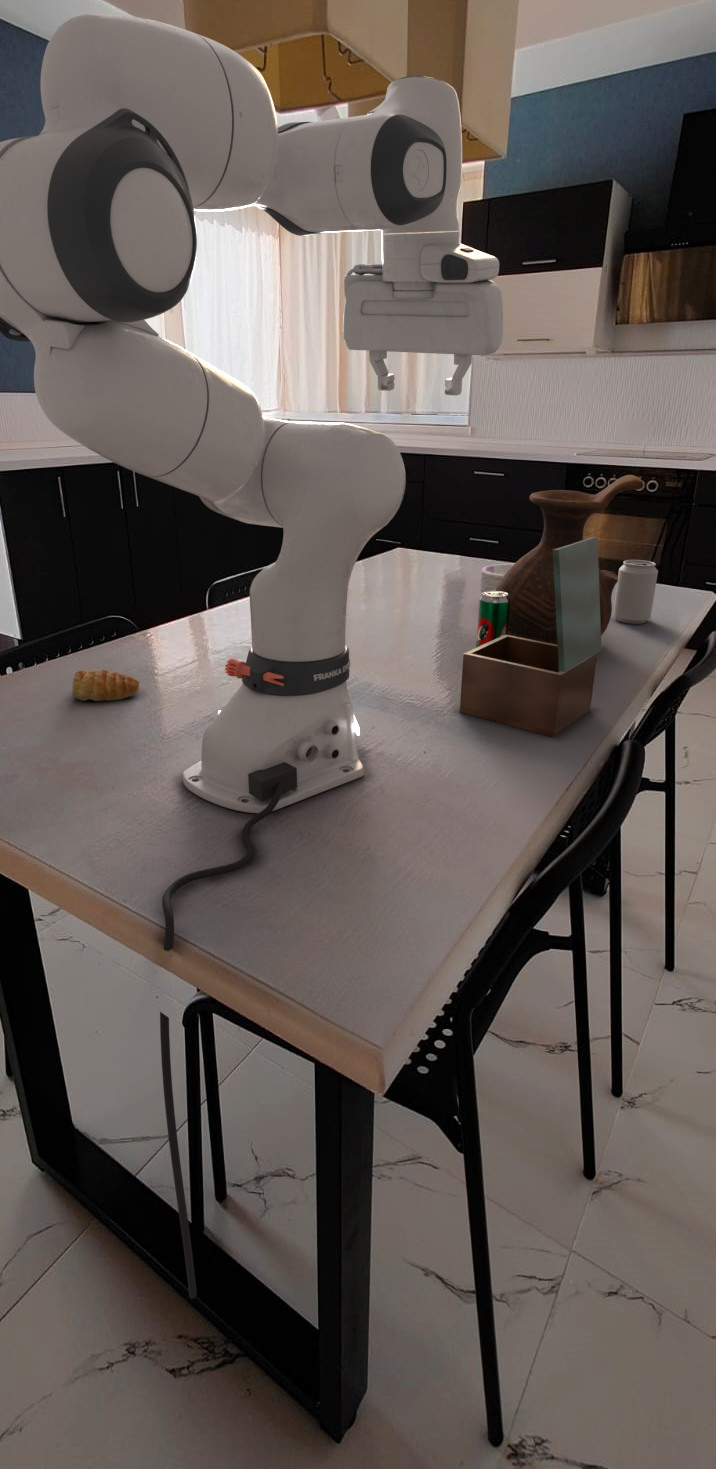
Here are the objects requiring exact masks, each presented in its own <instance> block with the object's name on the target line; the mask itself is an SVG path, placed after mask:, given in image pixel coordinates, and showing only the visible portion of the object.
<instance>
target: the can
mask: <svg viewBox="0 0 716 1469" xmlns="http://www.w3.org/2000/svg"><path fill="white" fill-rule="evenodd" d="M622 563H623V564H622V565H621V566H620V567H619V569H618V573H617V574H618V575H617V577H618V582H617V583H616V588H615V595H614V603H613V607H612V616H613V617H614V618H615V620H616V621H618V622H621V623H624V624H635V625H636V624H644V623H646V622H648V621H649V620H650V619H651V617H652V611H653V604H654V598H655V592H656V586H657V580H658V573H659V570H658V569H657V568H656V566H657V563H655V562H654V561H652V560H651V561H650V560H644V559H626V560H624V561H623V562H622Z"/></svg>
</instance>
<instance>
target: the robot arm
mask: <svg viewBox="0 0 716 1469" xmlns="http://www.w3.org/2000/svg"><path fill="white" fill-rule="evenodd" d="M40 98H41V99H40V100H41V105H42V111H43V114H44V119H45V121H44V122H45V123H44V126H43V128H42V130H41V132H40V133H39V135H28V136H22V137H21V136H20V137H16V138H11V139H7V140H3V141H0V334H2V336H4V337H5V338H7V339H8V340H12V341H16V342H25V343H26V342H27V343H28V342H31V344H32V345H33V346H32V347H33V348H34V352H35V353H34V354H35V360H34V368H33V384H34V385H33V386H34V391H35V396H36V398H37V402H38V404H39V406H40V408H41V410H42V412H43V413H44V415H45V417H46V418H47V419H48V420H49V421H50V423H51V424H52V425H53V426H54V427H55V428H57V429H58V430H59V431H61V432H62V433H63V434H65V435H66V436H67V437H69V438H71V439H72V440H74V441H75V442H77V443H79V444H80V445H82V447H85V448H87V449H88V450H90V451H92V452H93V453H95V454H97V455H99V456H101V457H103V458H104V459H107V460H108V461H110V462H112V463H113V464H116V465H118V466H120V467H123V468H125V469H127V470H129V471H132V472H135V473H137V474H140V475H142V476H145V477H147V478H149V479H153V480H155V481H157V482H160V483H163V484H166V485H168V486H170V487H174V488H176V489H179V490H181V491H184V492H187V493H190V494H191V495H192V494H193V495H195V496H197V497H199V499H200V500H201V502H202V503H203V505H205V506H206V507H207V508H208V509H210V510H211V511H213V512H215V513H217V514H220V515H222V516H225V517H227V518H230V519H233V520H236V521H239V522H241V523H244V524H249V525H257V526H266V527H274V528H282V529H283V537H282V543H281V548H280V552H279V555H278V557H277V559H276V560H275V562H273V563H270V564H269V565H268V566H266V567H264V568H263V569H261V571H259V572H258V573H257V574H256V576H255V577H254V578H253V580H252V581H251V584H250V587H249V609H250V610H249V612H250V631H251V632H250V634H251V646H250V647H249V650H248V652H247V656H246V659H245V660H246V661H244V660H243V661H241V660H238V659H236V658H230V659H228V660H227V661H226V664H225V666H224V671H225V674H227V676H229V677H236V678H237V679H241V683H242V684H241V685H240V686H239V688H238V690H236V692H235V693H234V694H233V696H232V697H231V698H230V699H229V700H228V701H227V703H226V704H225V705H224V707H223V708H222V709H221V710H218V711H217V715H216V717H215V718H213V719H212V721H211V722H210V723H209V724H208V726H207V727H206V728H205V730H204V732H203V737H202V742H201V755H200V756H201V759H200V760H198V761H197V762H196V763H194V764H192V765H190V766H189V767H187V768H186V769H184V770H183V772H182V776H181V780H182V783H183V785H184V786H185V788H186V789H188V790H189V791H190V792H191V793H192V794H194V795H196V796H198V797H199V798H202V799H203V800H206V801H208V802H210V803H212V804H215V805H217V806H220V807H224V808H226V809H230V810H234V811H239V812H243V813H250V814H255V815H254V816H253V817H251V818H250V819H249V820H248V821H247V822H246V823H245V824H244V826H243V827H242V830H241V839H242V843H243V845H244V847H245V848H246V851H247V853H246V854H245V855H244V856H243V857H242V858H240V859H238V860H236V861H234V862H232V863H228V864H224V865H219V866H216V867H209V868H206V869H200V870H197V871H194V872H190V873H187V874H185V875H183V876H181V877H179V878H177V879H176V880H174V881H173V882H172V883H171V884H170V885H169V886H168V887H167V888H166V890H165V891H164V893H163V895H162V898H161V905H162V911H163V916H164V925H165V926H164V927H165V928H164V940H163V941H164V942H163V950H164V951H167V952H168V951H171V950H172V949H173V947H174V937H175V918H174V910H173V906H172V902H171V899H172V897H173V895H174V894H175V893H176V892H177V891H178V890H179V889H181V888H182V887H183V886H185V885H186V884H189V883H192V882H194V881H197V880H201V879H206V878H210V877H215V876H220V875H225V874H228V873H232V872H236V871H237V870H240V869H242V868H244V867H246V866H247V865H249V864H250V863H251V861H252V860H253V859H254V857H255V855H256V848H255V846H254V844H253V842H252V840H251V838H250V832H251V830H252V828H253V827H254V826H255V825H256V824H257V823H259V822H260V821H261V820H263V819H264V818H266V817H267V816H268V815H269V814H271V813H272V812H275V811H277V810H279V809H282V808H285V807H287V806H290V805H293V804H295V803H298V802H301V801H302V800H305V799H308V798H310V797H313V796H315V795H318V794H321V793H324V792H325V791H328V790H331V789H334V788H336V787H338V786H342V785H344V784H346V783H349V782H352V781H355V780H357V779H359V778H362V777H363V776H364V775H365V772H364V765H363V763H362V762H361V760H360V759H359V757H360V755H359V751H358V745H357V736H361V735H360V734H361V732H360V731H361V728H360V726H359V725H360V724H358V721H357V719H356V716H355V714H354V707H353V704H352V700H351V697H350V694H349V690H348V684H347V681H348V679H349V678H350V667H351V659H350V649H349V647H348V645H347V644H346V642H347V640H346V639H347V638H346V636H347V607H348V593H349V585H350V582H351V576H352V574H353V570H354V567H355V566H356V562H357V560H358V558H359V556H360V554H361V552H362V551H363V549H364V547H365V546H366V544H367V543H368V542H369V541H370V539H372V538H373V537H374V535H376V534H377V533H378V532H379V531H381V530H382V529H384V527H386V526H387V525H388V524H389V523H390V522H391V521H392V520H393V518H394V517H395V515H396V514H397V512H398V510H399V509H400V508H401V504H402V501H403V499H404V496H405V491H406V486H407V484H406V483H407V482H406V481H407V480H406V479H407V477H406V475H407V474H406V468H405V464H404V460H403V457H402V454H401V452H400V450H399V448H398V446H397V445H396V443H395V441H394V440H393V439H392V438H391V437H389V436H388V435H387V434H385V433H382V432H379V431H376V430H372V429H369V428H366V427H363V426H359V425H355V424H351V423H348V422H347V423H346V422H321V421H320V422H317V421H316V422H315V421H295V420H294V421H293V420H292V421H291V420H283V419H277V418H272V417H271V418H270V417H267V416H263V411H262V408H261V404H260V402H259V400H258V399H257V397H256V395H255V393H254V392H253V391H252V390H251V389H250V388H249V387H248V386H247V385H245V384H244V383H242V382H241V381H239V380H237V379H236V378H235V377H232V375H231V376H230V375H229V374H227V373H225V372H224V371H222V370H220V369H218V368H217V367H215V366H213V365H211V364H210V363H209V362H207V361H205V360H203V359H201V357H198V356H197V355H195V354H194V353H192V352H191V351H188V350H187V349H186V348H185V349H184V347H182V346H179V345H178V344H175V343H174V342H172V341H170V340H168V339H166V338H163V337H162V336H160V333H158V332H157V331H156V330H155V329H153V327H152V326H150V324H149V323H148V322H147V321H146V320H148V319H152V318H155V317H158V316H160V315H162V314H165V313H166V312H168V311H170V310H171V309H173V308H174V307H176V306H177V305H178V304H179V303H180V302H181V301H182V300H183V299H184V297H185V296H186V294H187V292H188V289H189V288H190V285H191V282H192V280H193V276H194V271H195V266H196V261H197V260H196V259H197V250H198V236H197V235H198V234H197V233H198V232H197V222H196V215H195V213H196V212H195V211H197V212H225V211H233V210H238V209H244V208H247V207H248V208H249V207H256V208H258V209H259V210H262V211H264V212H265V213H266V214H268V215H269V216H270V217H271V218H273V220H274V221H275V222H276V223H278V224H279V225H280V226H281V227H282V228H283V229H285V230H286V231H288V232H289V233H290V234H292V235H294V236H299V237H305V236H306V237H307V236H313V235H319V234H326V233H340V232H341V233H343V232H365V231H367V232H368V231H381V263H372V264H365V263H358V264H354V266H353V267H352V268H350V269H349V271H348V272H347V273H346V275H345V276H344V281H343V288H344V289H343V290H344V299H345V300H344V306H343V308H344V309H343V321H342V339H343V342H344V344H345V346H346V347H347V349H348V350H349V351H367V352H368V360H369V363H370V365H371V367H372V369H373V371H374V373H375V375H376V376H377V389H378V390H379V391H385V392H386V391H387V392H390V391H393V390H394V389H395V373H389V370H388V368H387V365H386V362H385V361H384V360H386V359H387V358H388V352H393V353H416V354H437V355H438V354H439V355H453V364H454V366H455V365H456V368H455V371H454V373H453V375H452V377H449V378H446V379H444V387H445V388H444V395H445V396H459V395H461V394H462V390H463V379H464V377H465V375H466V374H467V372H468V370H469V368H470V367H471V365H472V363H473V356H484V357H485V356H488V355H492V354H494V353H496V352H497V350H498V349H499V348H500V346H502V342H503V336H504V332H503V331H504V306H503V296H502V295H503V294H502V291H501V289H500V287H499V286H498V284H497V283H496V282H495V281H493V280H494V279H496V278H497V277H498V275H499V273H500V261H499V258H497V257H496V256H494V255H491V254H489V253H486V252H483V251H482V250H481V251H480V250H478V249H475V248H473V247H471V246H469V245H465V244H463V243H461V242H460V239H461V238H460V237H461V232H460V231H461V227H460V226H461V225H460V219H459V215H458V201H459V195H460V191H461V187H462V181H463V180H462V179H463V176H462V174H463V137H462V136H463V133H462V120H461V112H460V111H461V110H460V103H459V98H458V94H457V91H456V89H455V88H454V87H453V86H452V85H451V84H449V83H448V82H447V81H445V80H443V79H440V78H438V77H435V76H434V77H430V76H425V75H407V76H403V77H400V78H397V79H395V80H393V81H391V83H389V85H388V86H387V89H386V94H385V98H384V100H383V101H382V102H381V103H380V104H379V105H378V106H376V107H375V108H373V109H371V110H370V111H368V112H367V114H363V115H356V116H348V117H343V118H342V117H341V118H333V119H326V120H319V121H296V122H295V121H294V122H287V123H285V124H282V125H280V126H279V125H278V119H277V113H276V108H275V104H274V101H273V98H272V95H271V92H270V89H269V86H268V85H267V83H266V80H265V79H264V77H263V75H262V74H261V72H260V71H259V69H257V67H256V66H254V65H253V64H252V63H251V62H250V61H248V60H247V59H246V58H245V57H244V56H242V55H240V54H239V53H238V52H236V51H235V50H233V49H231V48H230V47H228V46H226V45H224V44H222V43H220V42H218V41H216V40H214V39H211V38H208V37H206V36H204V35H202V34H200V33H199V34H198V33H195V32H193V31H190V30H187V29H184V28H182V27H179V26H176V25H173V24H170V23H165V22H161V21H158V20H153V19H149V18H143V17H138V16H131V15H124V14H115V13H96V12H95V13H94V12H93V13H92V12H91V13H90V12H88V13H81V14H77V15H75V16H72V17H70V18H67V19H66V20H65V21H64V22H63V23H61V25H59V26H58V27H57V29H56V30H55V31H54V33H53V34H52V35H51V38H50V39H49V40H48V43H47V45H46V48H45V50H44V55H43V58H42V62H41V71H40ZM353 273H354V274H353ZM11 330H12V331H11ZM159 1028H160V1029H159V1032H160V1033H159V1036H160V1054H161V1055H160V1057H161V1073H162V1084H163V1085H162V1086H163V1088H162V1089H163V1098H164V1108H165V1109H164V1110H165V1118H166V1127H167V1135H168V1144H169V1151H170V1160H171V1167H172V1174H173V1181H174V1190H175V1195H176V1204H177V1212H178V1217H179V1225H180V1232H181V1239H182V1246H183V1254H184V1263H185V1270H186V1278H187V1289H188V1297H189V1298H190V1300H194V1299H195V1298H197V1293H198V1292H197V1283H196V1274H195V1265H194V1256H193V1248H192V1240H191V1232H190V1225H189V1218H188V1210H187V1202H186V1195H185V1187H184V1179H183V1173H182V1172H183V1171H182V1165H181V1164H182V1163H181V1157H180V1149H179V1141H178V1132H177V1123H176V1113H175V1103H174V1091H173V1079H172V1078H173V1077H172V1064H171V1063H172V1062H171V1043H170V1042H171V1041H170V1039H171V1038H170V1017H169V1016H167V1015H166V1014H165V1013H164V1012H162V1011H159Z"/></svg>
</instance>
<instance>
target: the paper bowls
mask: <svg viewBox="0 0 716 1469" xmlns="http://www.w3.org/2000/svg"><path fill="white" fill-rule="evenodd" d="M514 564H515V563H499V564H498V563H497V564H491V565H487V566H484V567H482V568H481V569H480V576H479V591H480V592H481V594H482V593H483V592H486V591H495V589H496V587H497V586H498V584H499V582H500V581H501V579H502V578H503V576H504V575H505V574H506V572H507V571H508V570H509V569H510V568H511V567H512V566H513V565H514Z"/></svg>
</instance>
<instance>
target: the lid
mask: <svg viewBox="0 0 716 1469" xmlns="http://www.w3.org/2000/svg"><path fill="white" fill-rule="evenodd" d="M598 538H599V537H598V536H592V537H589V538H586V539H583V540H582V541H579V542H576V543H573V544H570V545H566V546H563V547H560V548H557V549H554V550H553V566H554V585H555V604H556V623H557V642H558V660H559V672H565V671H567V670H569V669H570V668H572V667H573V666H575V665H577V664H578V663H580V662H582V661H583V660H585V659H587V658H588V657H590V656H592V655H593V654H595V653H596V652H597V653H599V652H600V651H602V636H601V622H600V594H599V569H600V567H599V566H600V565H599V544H598V542H599V541H598Z"/></svg>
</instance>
